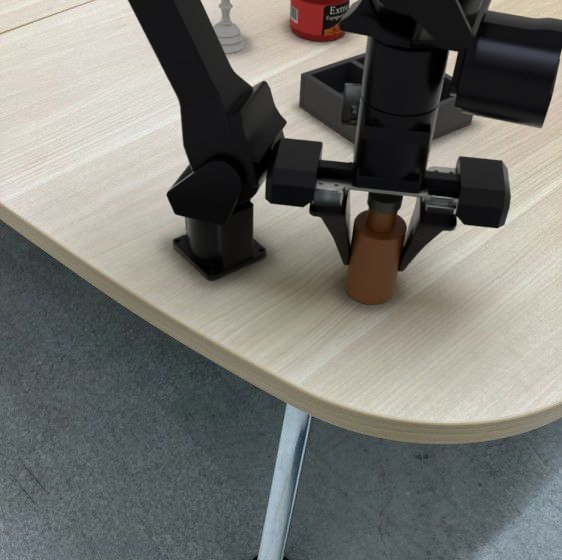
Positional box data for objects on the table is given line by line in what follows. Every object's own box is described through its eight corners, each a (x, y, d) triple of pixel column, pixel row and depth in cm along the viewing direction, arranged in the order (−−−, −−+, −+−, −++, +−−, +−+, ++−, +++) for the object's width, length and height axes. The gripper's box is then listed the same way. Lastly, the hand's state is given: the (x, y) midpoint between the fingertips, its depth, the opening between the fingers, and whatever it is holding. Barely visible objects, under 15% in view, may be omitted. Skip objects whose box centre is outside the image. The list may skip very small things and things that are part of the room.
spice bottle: (404, 292, 70) (424, 197, 63) (367, 311, 68) (384, 216, 61) (371, 266, 72) (387, 172, 65) (334, 283, 70) (347, 188, 63)
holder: (471, 123, 91) (478, 91, 88) (380, 161, 85) (385, 127, 82) (387, 75, 98) (392, 43, 95) (298, 106, 92) (300, 73, 89)
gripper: (521, 59, 62) (478, 222, 73) (286, 36, 63) (279, 200, 74) (534, 131, 54) (483, 301, 66) (266, 104, 55) (262, 275, 67)
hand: (373, 265), depth 68 cm, fingers closed on spice bottle, 4 cm apart
